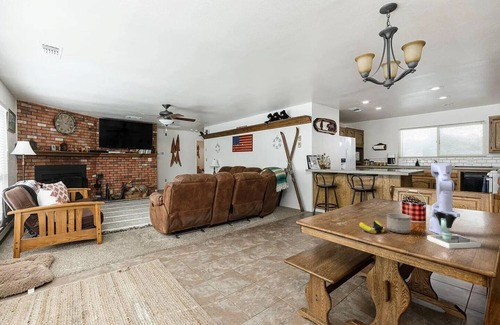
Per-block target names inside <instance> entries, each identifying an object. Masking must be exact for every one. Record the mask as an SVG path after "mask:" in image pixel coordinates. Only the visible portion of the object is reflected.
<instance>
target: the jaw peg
mask: <svg viewBox="0 0 500 325" xmlns="http://www.w3.org/2000/svg"><path fill="white" fill-rule="evenodd" d="M441 229H442V230H446V231H449V232H450V230H451V228H447V227H446V219H445V218H441Z"/></svg>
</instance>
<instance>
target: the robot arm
mask: <svg viewBox="0 0 500 325" xmlns="http://www.w3.org/2000/svg"><path fill="white" fill-rule="evenodd" d="M452 170H453V166H452V163H451V162H432V163H430V172H431V176H432V177H433V178H435V180H436V181H435V182H436V202H434V203H433V204H432V205H431V209H430V210H431V212H430V214H431V217H430V218H429V229H427V230H428V231H430V232H433V233H436V234H437V235H443V234H442V232H446V233H451V234H454V233H453V232H450V230H449V231H446V230H442V229H441V218H445V219H446V227H447V228H450V229H452V227H453V224H454V222H455V221H456V219H457V218H461V213H459V212H456V211H454V210H453V201H454V200H453V198H454V197H453V192H454V189H455V183H454V181H453V180H452V178H451V174H452Z"/></svg>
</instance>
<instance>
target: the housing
mask: <svg viewBox="0 0 500 325" xmlns="http://www.w3.org/2000/svg"><path fill="white" fill-rule="evenodd" d="M451 233H452V232H450V233H446V232H442V234H443V235H440V234H429V235H427V236H426V237H427V238H426V240H428V241H430V242H432V243H434V244H437V245H439V246H442V247H444V248H446V249H449V250H451V249H453V250H454V249H469V248H472V249H473V248H481V246H482V245H481V241H477V240H475V239H472V238H469V237H466V236H463V235H460V234H456V233H453V234H451Z"/></svg>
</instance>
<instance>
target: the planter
mask: <svg viewBox="0 0 500 325" xmlns="http://www.w3.org/2000/svg"><path fill="white" fill-rule="evenodd" d="M386 230H388V231H390V232H393V233H397V234H409V233H411V216H410V215H408V214H405V213H401V212H400V213H399V212H398V213H397V212H389V213H387V214H386Z"/></svg>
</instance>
